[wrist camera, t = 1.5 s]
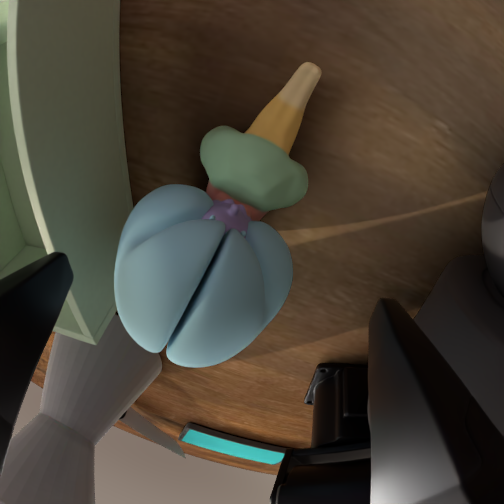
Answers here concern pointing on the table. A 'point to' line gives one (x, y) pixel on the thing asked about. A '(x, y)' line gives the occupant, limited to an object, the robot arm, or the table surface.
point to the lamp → (75, 417)
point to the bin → (64, 150)
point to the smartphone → (231, 444)
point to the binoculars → (474, 312)
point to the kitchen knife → (150, 431)
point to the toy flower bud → (216, 240)
